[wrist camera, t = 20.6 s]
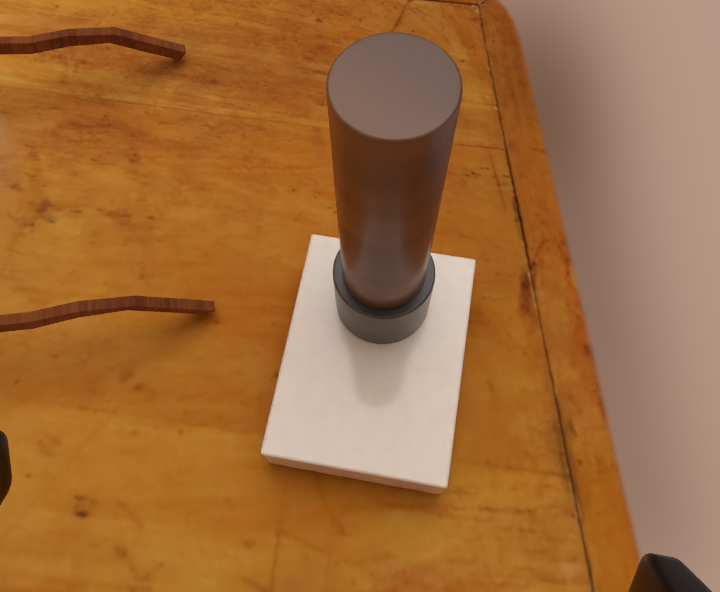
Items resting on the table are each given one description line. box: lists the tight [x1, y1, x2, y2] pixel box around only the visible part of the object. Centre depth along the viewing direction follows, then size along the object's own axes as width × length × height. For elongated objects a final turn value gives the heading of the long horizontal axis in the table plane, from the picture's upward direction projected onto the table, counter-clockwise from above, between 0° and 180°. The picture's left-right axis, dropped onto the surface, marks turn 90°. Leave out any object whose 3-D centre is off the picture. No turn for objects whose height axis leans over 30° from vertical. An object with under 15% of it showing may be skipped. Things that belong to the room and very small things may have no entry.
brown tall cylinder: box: [326, 32, 463, 344], centre depth 17 cm, size 3×3×11 cm
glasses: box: [0, 27, 215, 332], centre depth 24 cm, size 13×13×5 cm
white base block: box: [260, 234, 476, 494], centre depth 23 cm, size 8×6×2 cm
